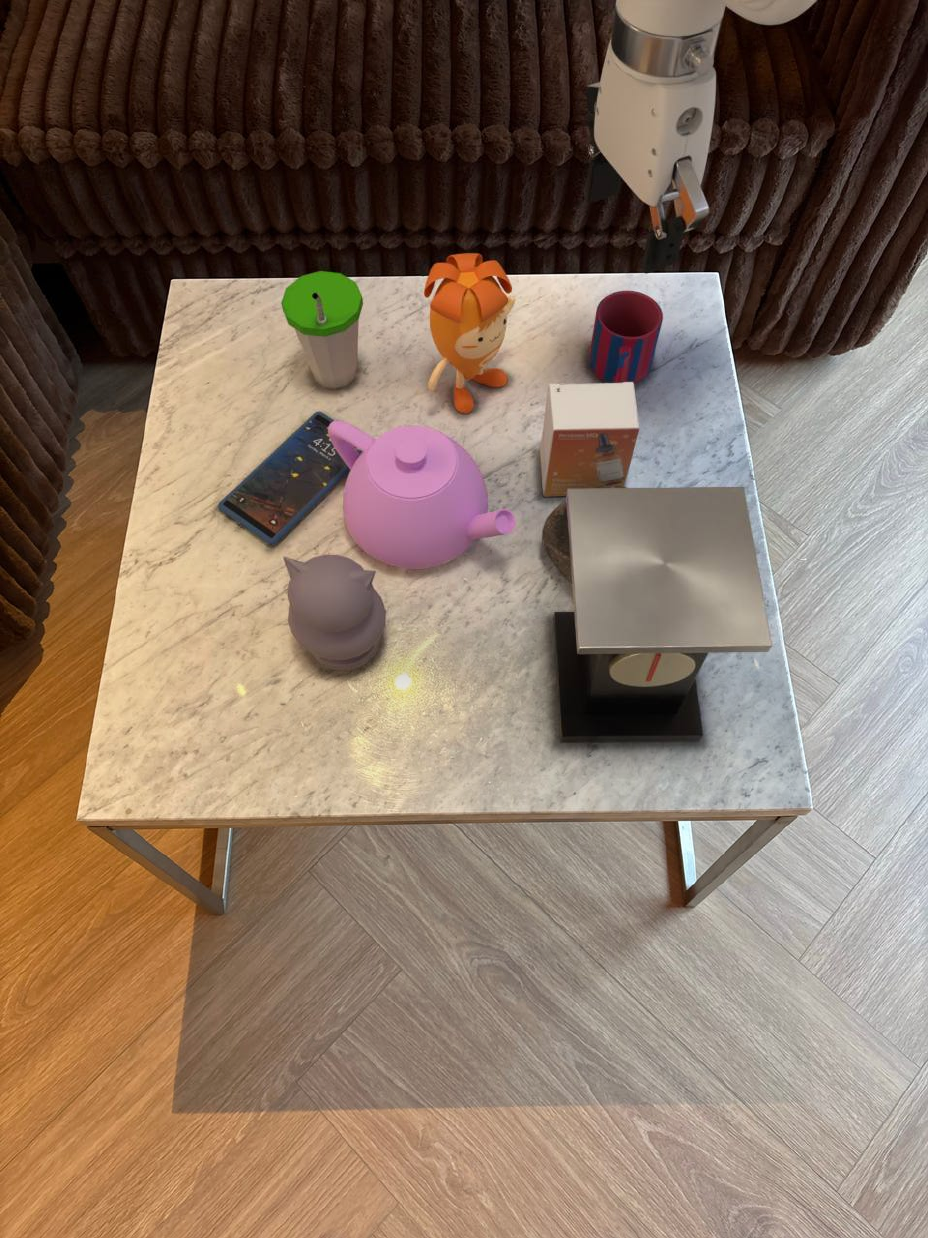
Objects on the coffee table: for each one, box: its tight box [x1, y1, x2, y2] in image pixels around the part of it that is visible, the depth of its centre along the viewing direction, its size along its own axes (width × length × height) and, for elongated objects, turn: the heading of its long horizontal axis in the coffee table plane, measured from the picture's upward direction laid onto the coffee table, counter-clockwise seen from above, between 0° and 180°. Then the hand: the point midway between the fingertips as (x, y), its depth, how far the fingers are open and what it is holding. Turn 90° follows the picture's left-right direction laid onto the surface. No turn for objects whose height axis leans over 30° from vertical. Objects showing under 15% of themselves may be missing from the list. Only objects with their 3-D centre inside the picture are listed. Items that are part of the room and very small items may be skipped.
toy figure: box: [423, 252, 517, 415], centre depth 93 cm, size 12×8×15 cm, turn 134°
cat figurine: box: [282, 554, 387, 672], centre depth 81 cm, size 8×8×12 cm
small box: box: [539, 382, 640, 498], centre depth 90 cm, size 8×6×10 cm
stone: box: [541, 485, 628, 585], centre depth 88 cm, size 11×11×5 cm
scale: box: [552, 486, 773, 744], centre depth 75 cm, size 13×13×20 cm
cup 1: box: [280, 270, 364, 391], centre depth 94 cm, size 8×8×15 cm
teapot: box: [328, 419, 517, 570], centre depth 87 cm, size 14×20×11 cm
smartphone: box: [217, 411, 363, 547], centre depth 94 cm, size 8×1×15 cm
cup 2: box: [588, 290, 664, 384], centre depth 97 cm, size 7×10×7 cm
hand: (629, 230), depth 82 cm, fingers open, 9 cm apart
